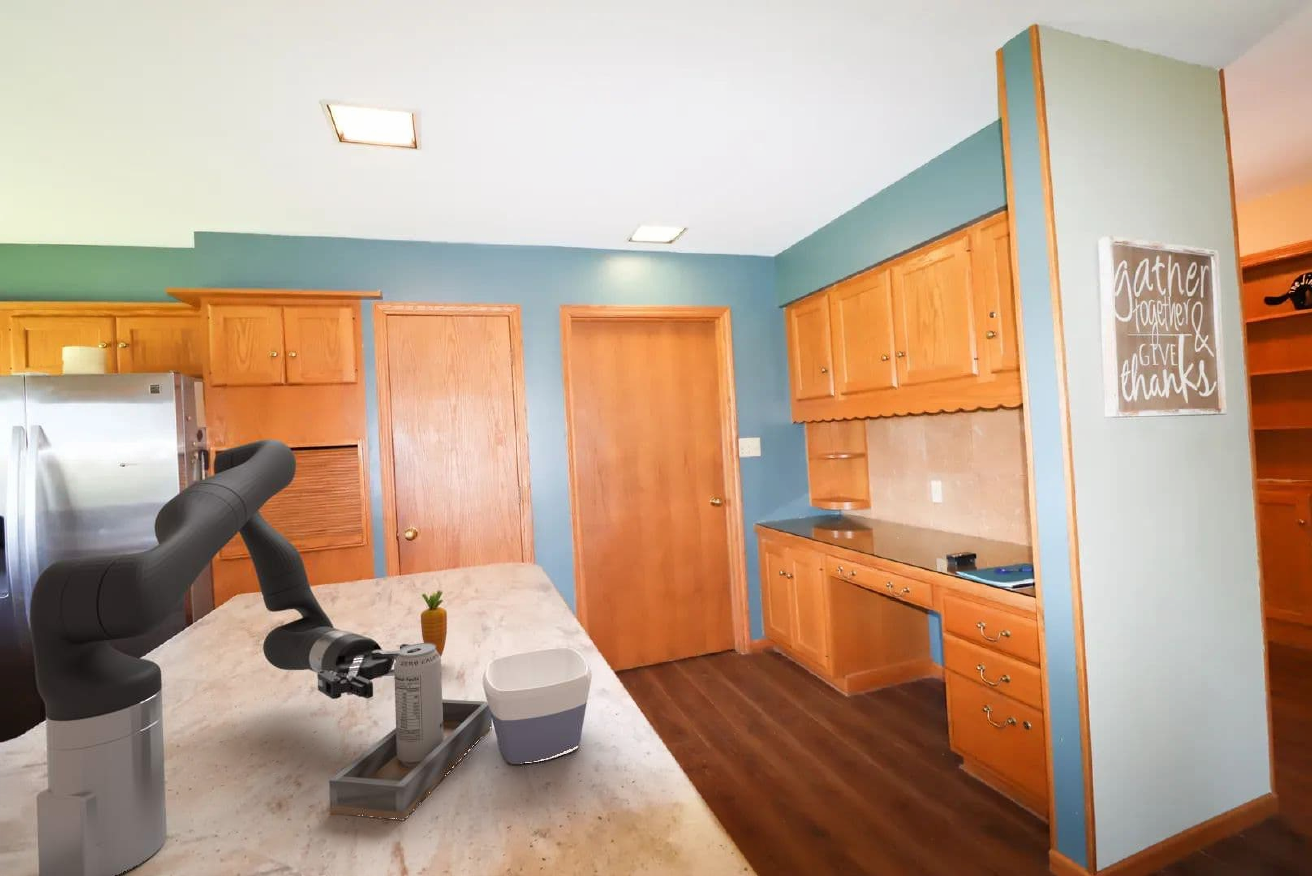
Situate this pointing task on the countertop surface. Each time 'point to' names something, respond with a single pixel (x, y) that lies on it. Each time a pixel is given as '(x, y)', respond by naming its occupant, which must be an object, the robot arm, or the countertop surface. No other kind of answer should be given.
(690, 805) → the countertop surface
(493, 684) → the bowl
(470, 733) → the rectangular tray
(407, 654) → the energy drink can
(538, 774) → the countertop surface
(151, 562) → the robot arm
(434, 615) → the carrot
